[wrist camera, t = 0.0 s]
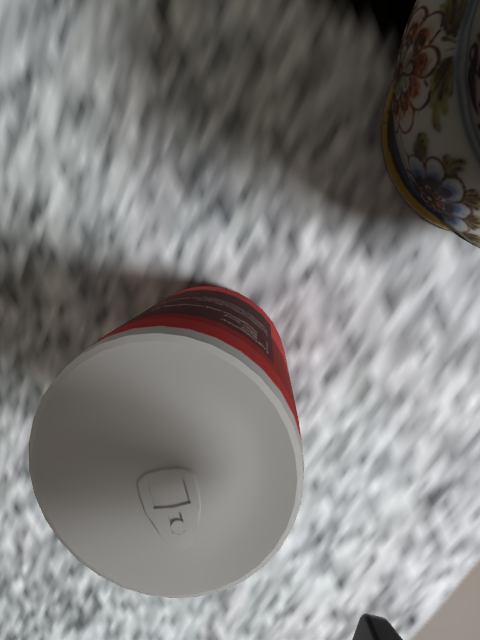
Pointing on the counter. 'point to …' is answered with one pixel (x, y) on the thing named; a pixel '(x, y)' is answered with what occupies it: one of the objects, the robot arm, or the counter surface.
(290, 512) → the canned food
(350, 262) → the counter surface
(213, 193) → the counter surface
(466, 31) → the apothecary jar
